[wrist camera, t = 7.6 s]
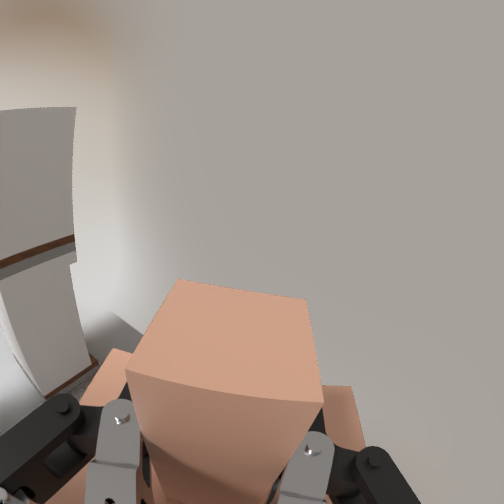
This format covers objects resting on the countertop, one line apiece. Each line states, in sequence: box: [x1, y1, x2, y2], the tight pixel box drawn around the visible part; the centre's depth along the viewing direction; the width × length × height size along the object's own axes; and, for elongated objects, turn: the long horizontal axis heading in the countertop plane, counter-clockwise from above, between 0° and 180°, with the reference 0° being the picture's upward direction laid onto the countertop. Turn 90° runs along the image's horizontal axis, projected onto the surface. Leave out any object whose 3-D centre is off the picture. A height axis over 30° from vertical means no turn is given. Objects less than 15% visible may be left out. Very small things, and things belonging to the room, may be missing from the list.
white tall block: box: [0, 107, 100, 401], centre depth 25 cm, size 11×11×35 cm
